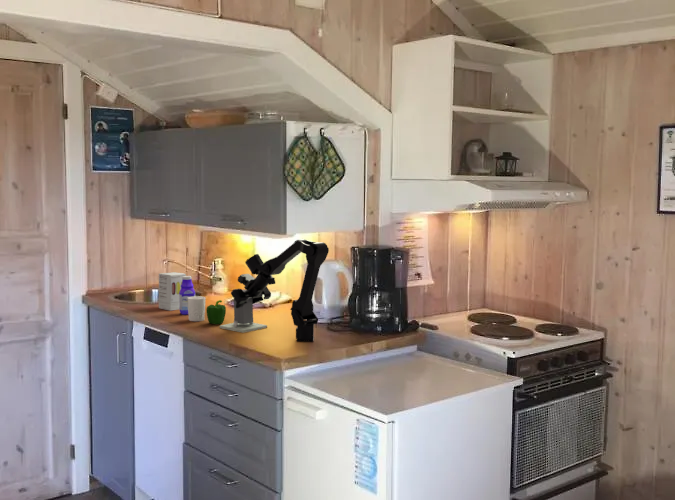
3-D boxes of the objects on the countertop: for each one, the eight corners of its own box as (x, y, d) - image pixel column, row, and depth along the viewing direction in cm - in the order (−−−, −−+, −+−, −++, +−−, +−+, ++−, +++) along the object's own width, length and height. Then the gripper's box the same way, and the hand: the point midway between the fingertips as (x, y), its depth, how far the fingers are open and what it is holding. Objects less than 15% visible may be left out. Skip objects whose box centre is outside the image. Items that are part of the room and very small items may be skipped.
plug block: (253, 322, 312) (252, 290, 311) (243, 324, 307) (242, 291, 306) (243, 320, 315) (243, 289, 314) (234, 322, 311) (233, 290, 310)
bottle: (180, 315, 336) (180, 277, 335) (178, 313, 341) (177, 275, 340) (196, 314, 339) (196, 276, 338) (193, 312, 344) (193, 275, 343)
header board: (267, 327, 313) (267, 319, 312) (243, 332, 302) (243, 324, 301) (243, 323, 321) (243, 315, 321) (219, 327, 310) (219, 319, 310)
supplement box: (170, 310, 347) (170, 275, 345) (158, 308, 353) (157, 273, 351) (186, 308, 354) (186, 273, 353) (174, 306, 360) (173, 271, 358)
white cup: (197, 322, 321) (197, 299, 320) (183, 320, 325) (183, 298, 324) (209, 319, 328) (209, 297, 327) (195, 317, 332) (195, 295, 331)
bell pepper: (208, 326, 314) (208, 302, 313) (204, 322, 322) (204, 299, 321) (228, 324, 317) (228, 301, 316) (223, 321, 325) (223, 298, 324)
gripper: (266, 266, 314) (247, 289, 322) (233, 270, 299) (215, 294, 307) (279, 286, 310) (260, 309, 317) (247, 291, 295) (228, 315, 303)
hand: (241, 306), depth 311 cm, fingers closed on plug block, 5 cm apart
